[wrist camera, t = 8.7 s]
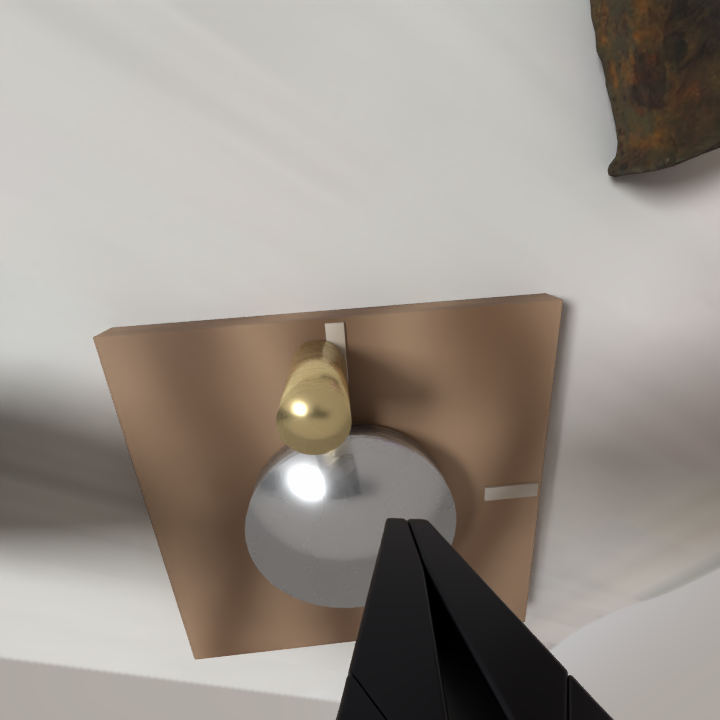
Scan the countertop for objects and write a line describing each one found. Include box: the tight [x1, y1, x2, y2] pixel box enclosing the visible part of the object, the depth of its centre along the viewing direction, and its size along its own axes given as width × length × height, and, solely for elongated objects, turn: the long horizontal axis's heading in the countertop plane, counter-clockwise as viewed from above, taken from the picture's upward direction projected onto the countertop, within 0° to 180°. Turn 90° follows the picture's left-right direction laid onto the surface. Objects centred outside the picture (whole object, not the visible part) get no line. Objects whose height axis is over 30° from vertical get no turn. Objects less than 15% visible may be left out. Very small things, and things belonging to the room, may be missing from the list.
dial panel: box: [93, 293, 563, 659], centre depth 21 cm, size 20×20×2 cm
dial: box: [245, 340, 456, 608], centre depth 17 cm, size 14×10×5 cm
